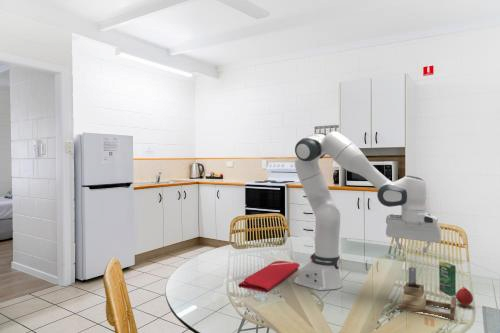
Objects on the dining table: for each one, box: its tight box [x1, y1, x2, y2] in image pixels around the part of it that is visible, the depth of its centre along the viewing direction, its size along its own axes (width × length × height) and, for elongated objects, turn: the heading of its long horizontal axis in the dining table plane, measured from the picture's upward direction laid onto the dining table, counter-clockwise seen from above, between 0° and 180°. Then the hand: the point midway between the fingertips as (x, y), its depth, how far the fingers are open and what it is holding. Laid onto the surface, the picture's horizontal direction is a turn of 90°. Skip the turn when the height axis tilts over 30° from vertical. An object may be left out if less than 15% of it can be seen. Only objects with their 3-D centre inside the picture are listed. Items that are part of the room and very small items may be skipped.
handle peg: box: [408, 266, 417, 288], centre depth 144 cm, size 3×3×10 cm
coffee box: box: [438, 260, 457, 297], centre depth 161 cm, size 8×3×13 cm, turn 6°
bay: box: [397, 296, 457, 321], centre depth 141 cm, size 19×12×5 cm, turn 58°
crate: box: [400, 281, 427, 309], centre depth 144 cm, size 8×8×8 cm
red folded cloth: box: [237, 260, 300, 293], centre depth 181 cm, size 16×41×4 cm, turn 151°
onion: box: [455, 285, 474, 307], centre depth 145 cm, size 6×6×8 cm
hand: (412, 250), depth 144 cm, fingers open, 8 cm apart
